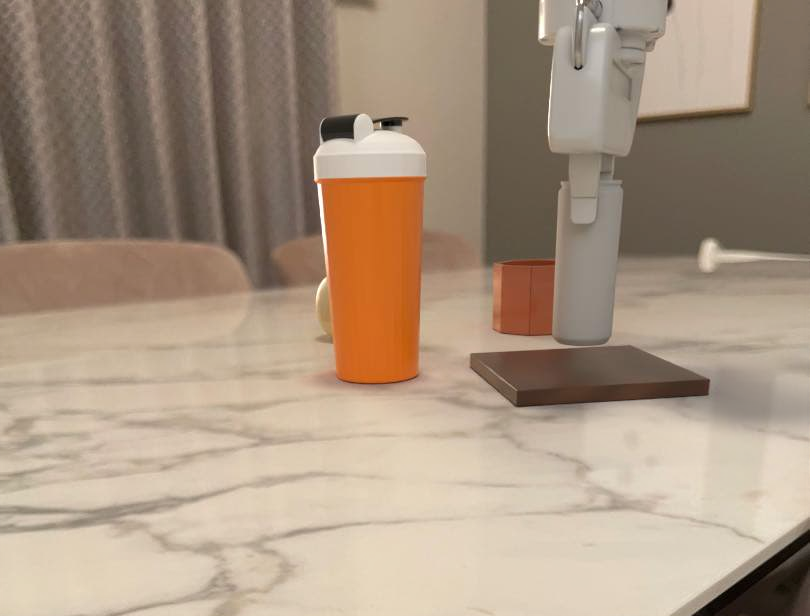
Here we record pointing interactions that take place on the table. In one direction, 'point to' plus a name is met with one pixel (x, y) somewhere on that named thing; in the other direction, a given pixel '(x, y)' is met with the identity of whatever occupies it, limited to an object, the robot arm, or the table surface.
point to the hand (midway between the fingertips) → (589, 221)
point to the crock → (523, 296)
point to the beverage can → (586, 269)
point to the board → (585, 375)
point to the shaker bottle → (372, 244)
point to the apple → (324, 307)
